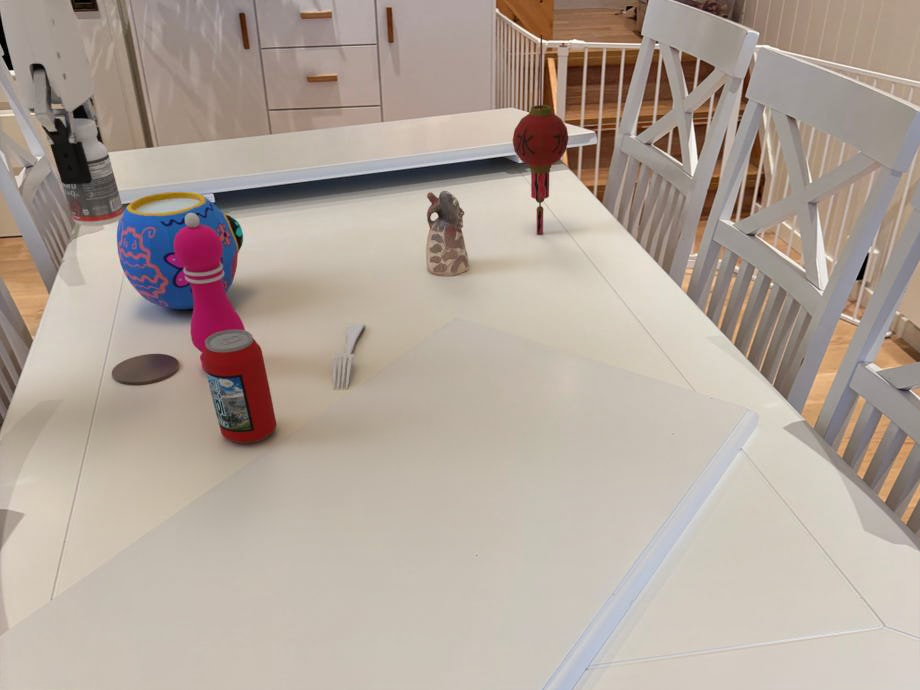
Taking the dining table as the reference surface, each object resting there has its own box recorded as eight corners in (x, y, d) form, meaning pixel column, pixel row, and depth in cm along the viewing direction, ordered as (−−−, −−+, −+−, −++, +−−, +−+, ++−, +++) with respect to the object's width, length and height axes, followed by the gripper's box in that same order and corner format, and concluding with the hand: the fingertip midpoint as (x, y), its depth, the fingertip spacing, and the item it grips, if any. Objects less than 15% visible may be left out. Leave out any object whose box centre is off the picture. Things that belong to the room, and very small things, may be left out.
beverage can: (211, 434, 112) (187, 340, 104) (257, 414, 115) (237, 322, 107) (242, 453, 108) (219, 357, 100) (288, 432, 111) (270, 337, 103)
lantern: (577, 231, 163) (583, 32, 143) (542, 246, 158) (544, 42, 138) (537, 221, 168) (538, 28, 148) (502, 235, 163) (499, 36, 144)
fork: (368, 340, 137) (366, 321, 135) (350, 389, 120) (348, 368, 118) (349, 341, 137) (347, 322, 135) (329, 389, 120) (326, 369, 118)
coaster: (105, 386, 123) (104, 384, 122) (121, 358, 129) (120, 355, 129) (172, 382, 123) (171, 380, 123) (184, 354, 130) (183, 351, 129)
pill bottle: (66, 219, 105) (36, 122, 99) (113, 209, 108) (87, 114, 101) (84, 231, 102) (55, 131, 95) (133, 220, 105) (107, 122, 98)
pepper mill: (189, 375, 125) (149, 221, 111) (213, 352, 130) (178, 203, 117) (238, 379, 123) (203, 223, 110) (260, 356, 128) (229, 205, 115)
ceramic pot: (270, 294, 146) (252, 194, 136) (186, 334, 135) (159, 228, 125) (195, 275, 153) (172, 179, 144) (110, 311, 143) (79, 210, 133)
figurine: (469, 275, 149) (465, 196, 141) (425, 277, 149) (420, 198, 141) (469, 260, 154) (466, 183, 146) (427, 261, 155) (422, 185, 147)
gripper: (21, -32, 96) (75, 156, 108) (-44, -12, 83) (26, 199, 95) (92, -35, 96) (138, 153, 108) (39, -15, 84) (98, 196, 95)
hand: (85, 173), depth 102 cm, fingers closed on pill bottle, 5 cm apart
